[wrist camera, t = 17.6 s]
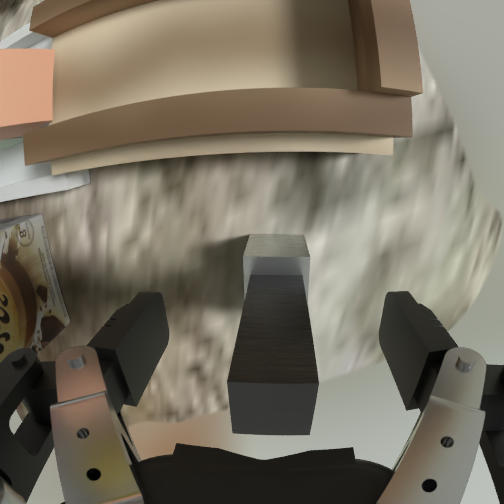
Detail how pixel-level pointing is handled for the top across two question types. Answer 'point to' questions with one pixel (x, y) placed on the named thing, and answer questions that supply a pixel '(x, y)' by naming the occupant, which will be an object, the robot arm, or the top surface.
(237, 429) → the dark grey rectangular prism
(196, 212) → the top surface
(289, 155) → the top surface
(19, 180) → the tray
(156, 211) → the top surface
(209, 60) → the wooden box
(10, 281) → the coffee box
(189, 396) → the top surface
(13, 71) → the terracotta block
